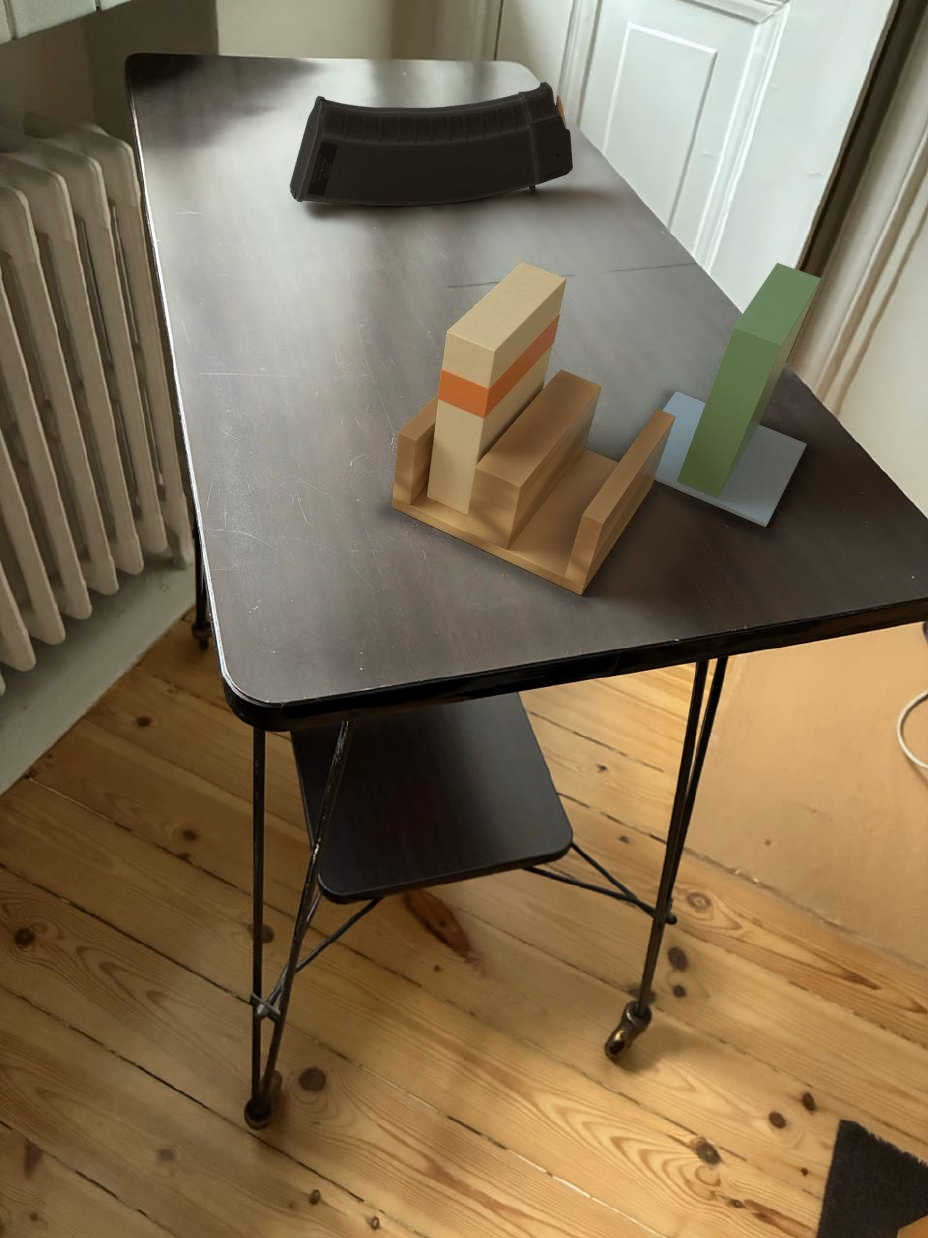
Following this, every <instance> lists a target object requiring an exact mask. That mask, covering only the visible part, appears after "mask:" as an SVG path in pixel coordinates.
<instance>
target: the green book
mask: <svg viewBox="0 0 928 1238" xmlns="http://www.w3.org/2000/svg"><path fill="white" fill-rule="evenodd" d="M821 281H822V278H821V277H818V276H815V275H812V274H810V273H807V272H804V271H802V270H799V269H796V268H793V267H790V266H787V265H785V264H783V263H779V262H776V263H775V265H774V267H773V268H772V270H771V271H770V273H769V274H768V275H767V277H766V279H765V280H764V282H763V283H762V285H761V286H760V287H759V289H758V290H757V292H756V293H755V294H754V296H753V298H752V299H751V301H750V302H749V304H748V305H747V307H746V308H745V310H744V311H743V312H742V314H741V315H740V317H739V318H738V320H737V321H736V323H735V324H734V326H733V328H732V331H731V334H730V336H729V339H728V342H727V344H726V347H725V349H724V351H723V355H722V358H721V361H720V363H719V366H718V368H717V371H716V374H715V377H714V379H713V382H712V384H711V387H710V390H709V393H708V396H707V398H706V401H705V402H704V403H705V406H704V409H703V412H702V414H701V417H700V420H699V422H698V425H697V428H696V430H695V433H694V436H693V439H692V441H691V444H690V447H689V449H688V452H687V455H686V457H685V460H684V463H683V466H682V468H681V471H680V474H679V476H678V479H677V482H679V483H682V484H684V485H687V486H689V487H691V488H694V489H696V490H698V491H701V492H703V493H705V494H708V495H710V496H712V497H715V498H717V499H718V498H719V496H720V494H721V492H722V491H723V489H724V487H725V485H726V483H727V482H728V480H729V478H730V476H731V475H732V473H733V471H734V469H735V467H736V466H737V464H738V462H739V460H740V458H741V457H742V455H743V453H744V451H745V449H746V448H747V446H748V444H749V442H750V441H751V439H752V437H753V435H754V433H755V432H756V430H757V428H758V426H759V425H760V424H761V421H762V419H763V416H764V414H765V411H766V410H767V408H768V405H769V402H770V400H771V398H772V396H773V393H774V391H775V388H776V386H777V384H778V382H779V380H780V377H781V374H782V372H783V370H784V367H785V365H786V363H787V360H788V358H789V356H790V353H791V351H792V349H793V346H794V344H795V342H796V339H797V337H798V334H799V332H800V330H801V327H802V325H803V323H804V321H805V318H806V316H807V314H808V311H809V309H810V306H811V305H812V302H813V299H814V297H815V295H816V292H817V290H818V288H819V286H820V283H821Z"/></svg>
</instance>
